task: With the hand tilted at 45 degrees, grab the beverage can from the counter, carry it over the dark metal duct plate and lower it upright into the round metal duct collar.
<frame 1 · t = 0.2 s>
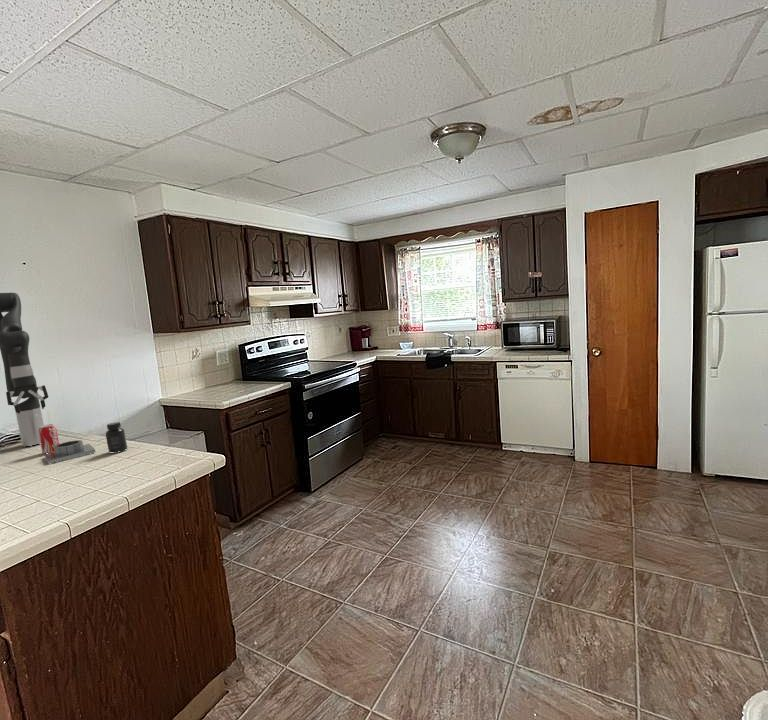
hand: (31, 410, 195), 18 cm above the table, tool pointing down, fingers open, 8 cm apart
duct collar: (70, 455, 183), on the table
beverage can: (51, 452, 190), on the table
supplement bottle: (118, 451, 182), on the table
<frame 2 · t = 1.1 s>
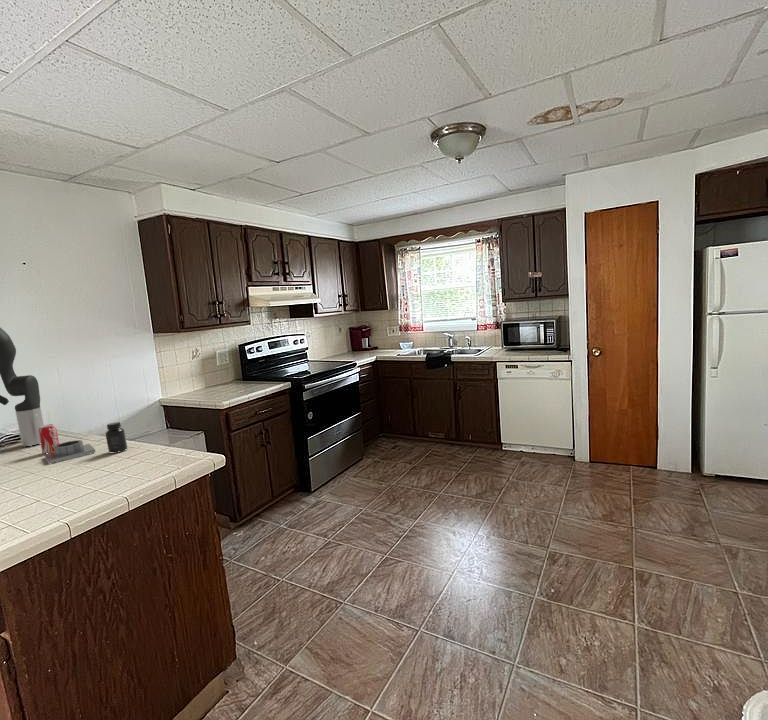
hand: (6, 402, 180), 25 cm above the table, tool tilted 45°, fingers open, 8 cm apart
nothing on the table moved.
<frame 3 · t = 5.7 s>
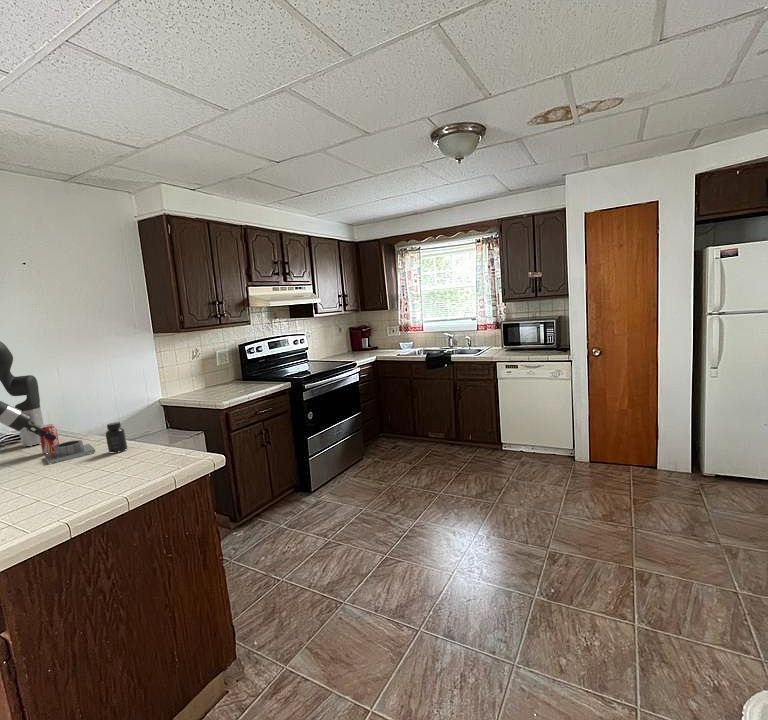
hand: (53, 437, 191), 6 cm above the table, tool tilted 45°, fingers closed on beverage can, 6 cm apart
beverage can: (51, 452, 190), on the table, touching gripper
everything else where it was.
when the fingers open (9 cm above the table, at t = 11.8 s): beverage can drops 1 cm, resting on duct collar.
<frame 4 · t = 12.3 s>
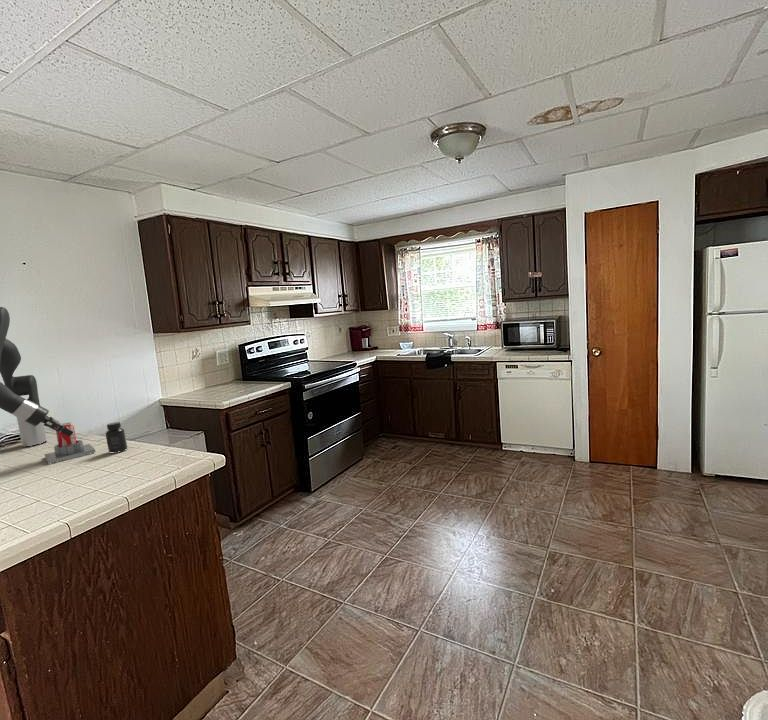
hand: (70, 432, 182), 9 cm above the table, tool tilted 45°, fingers open, 8 cm apart
beverage can: (68, 452, 182), point 1 cm above the table, touching duct collar
everything else where it was.
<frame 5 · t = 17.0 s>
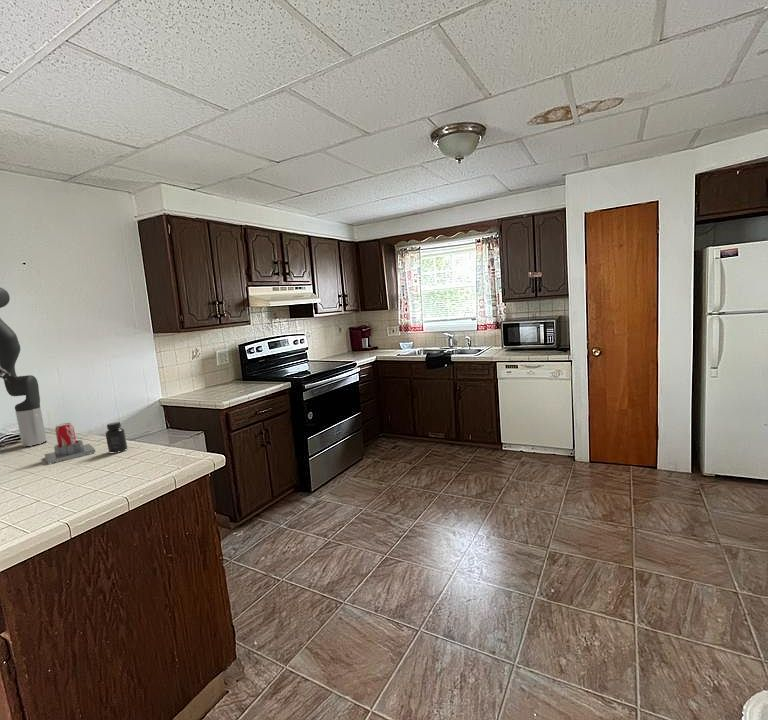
hand: (17, 382, 181), 33 cm above the table, tool tilted 45°, fingers open, 8 cm apart
nothing on the table moved.
at the end: beverage can 0.4 cm off-centre on the duct collar, point 1.3 cm above the duct collar's base; beverage can tilted 0°; the gripper is holding nothing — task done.
